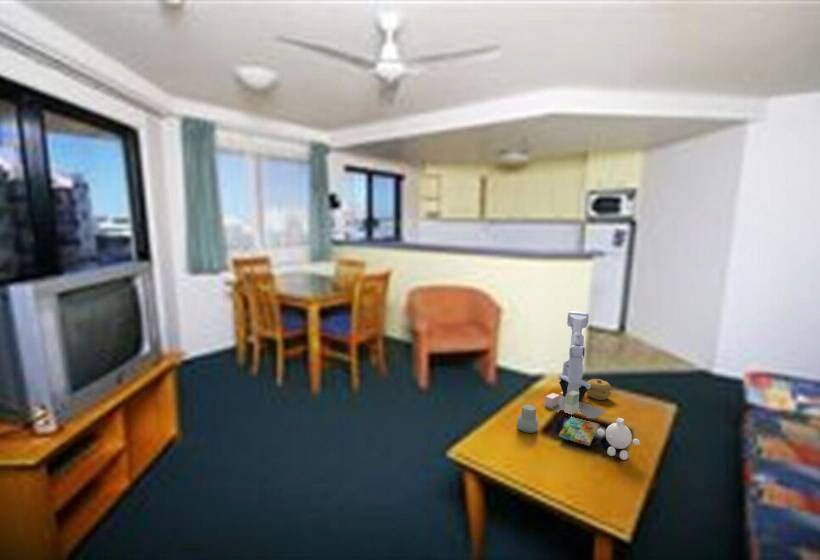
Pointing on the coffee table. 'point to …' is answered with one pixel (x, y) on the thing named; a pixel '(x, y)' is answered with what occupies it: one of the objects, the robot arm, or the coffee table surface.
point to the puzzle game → (579, 431)
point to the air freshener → (528, 419)
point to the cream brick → (571, 408)
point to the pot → (599, 389)
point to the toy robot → (618, 438)
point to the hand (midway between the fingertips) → (572, 398)
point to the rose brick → (552, 400)
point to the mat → (584, 408)
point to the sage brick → (572, 398)
